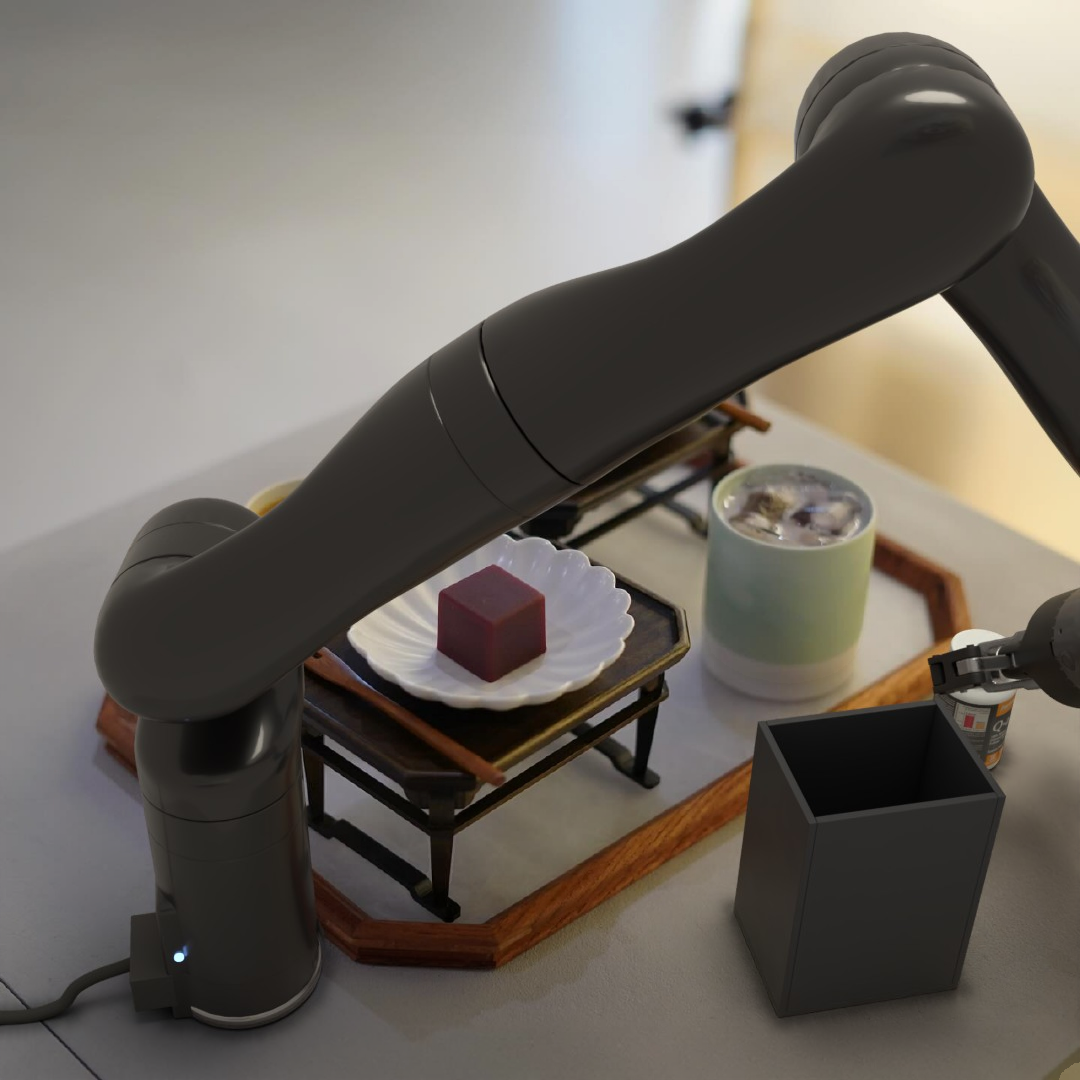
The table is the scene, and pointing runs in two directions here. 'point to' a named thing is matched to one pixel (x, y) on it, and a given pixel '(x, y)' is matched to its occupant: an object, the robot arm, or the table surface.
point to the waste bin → (864, 854)
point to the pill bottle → (981, 706)
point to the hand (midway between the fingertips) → (995, 672)
